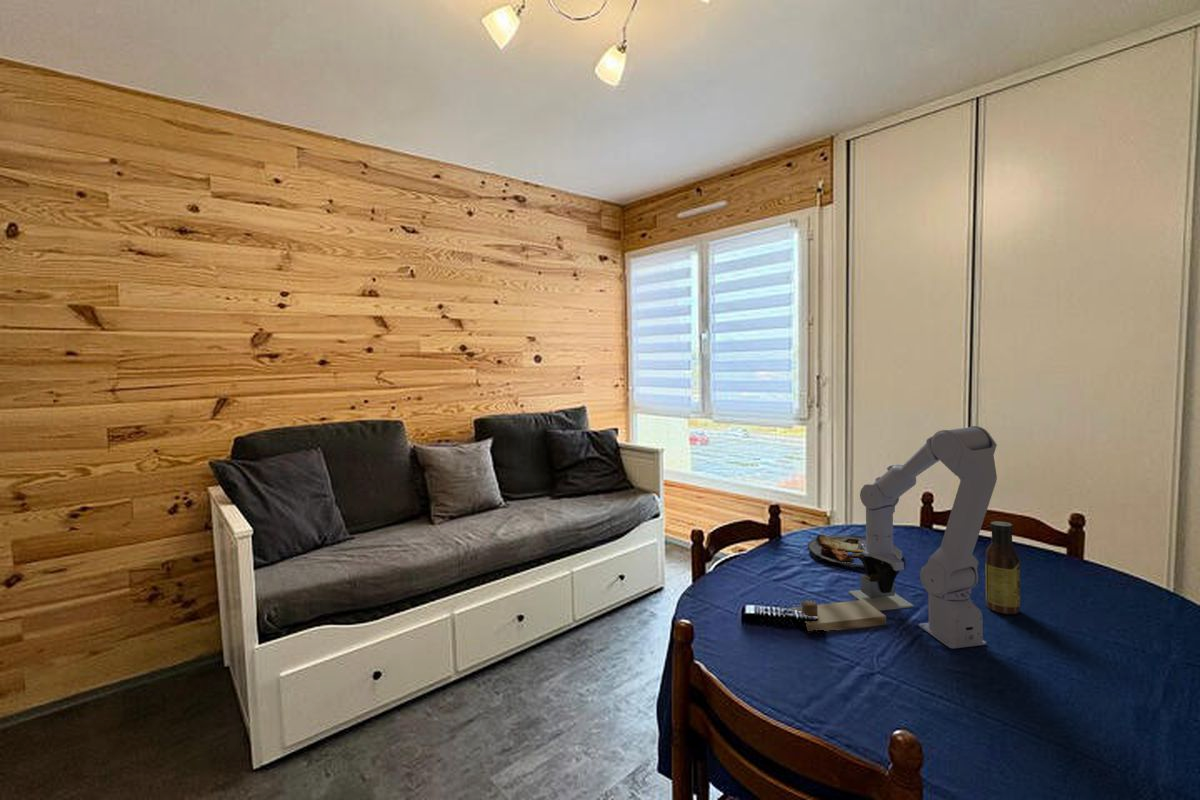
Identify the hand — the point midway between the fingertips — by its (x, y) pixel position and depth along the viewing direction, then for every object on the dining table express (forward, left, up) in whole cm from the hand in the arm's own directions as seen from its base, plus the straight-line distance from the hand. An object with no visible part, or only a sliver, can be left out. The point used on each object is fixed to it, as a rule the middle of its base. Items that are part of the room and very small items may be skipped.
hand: (879, 588), depth 129 cm
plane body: (-7, +15, -3) cm, 17 cm away
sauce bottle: (-10, -23, -3) cm, 25 cm away
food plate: (+27, -10, -3) cm, 29 cm away
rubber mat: (0, 0, -3) cm, 3 cm away
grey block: (0, +1, -1) cm, 1 cm away
